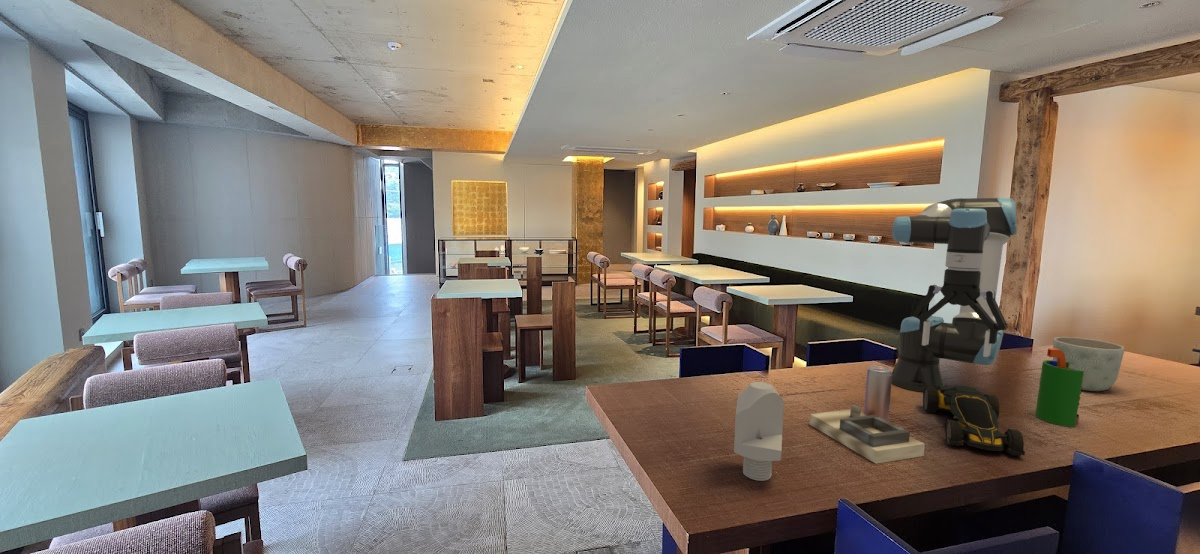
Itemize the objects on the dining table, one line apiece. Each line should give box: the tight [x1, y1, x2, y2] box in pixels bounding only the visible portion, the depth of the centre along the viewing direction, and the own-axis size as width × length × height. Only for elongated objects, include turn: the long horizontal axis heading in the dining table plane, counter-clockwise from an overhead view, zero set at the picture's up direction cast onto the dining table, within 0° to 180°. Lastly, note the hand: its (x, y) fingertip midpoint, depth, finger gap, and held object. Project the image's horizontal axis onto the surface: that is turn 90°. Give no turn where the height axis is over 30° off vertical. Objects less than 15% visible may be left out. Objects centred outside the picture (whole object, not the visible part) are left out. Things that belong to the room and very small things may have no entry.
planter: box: [1052, 336, 1125, 392], centre depth 166 cm, size 17×17×15 cm
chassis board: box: [809, 404, 926, 465], centre depth 125 cm, size 22×14×6 cm, turn 16°
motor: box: [1034, 347, 1084, 428], centre depth 138 cm, size 10×9×20 cm
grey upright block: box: [733, 381, 785, 482], centre depth 107 cm, size 9×9×20 cm
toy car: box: [922, 385, 1026, 458], centre depth 131 cm, size 16×32×10 cm, turn 156°
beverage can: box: [863, 365, 893, 422], centre depth 136 cm, size 6×6×15 cm
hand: (954, 350), depth 130 cm, fingers open, 13 cm apart
